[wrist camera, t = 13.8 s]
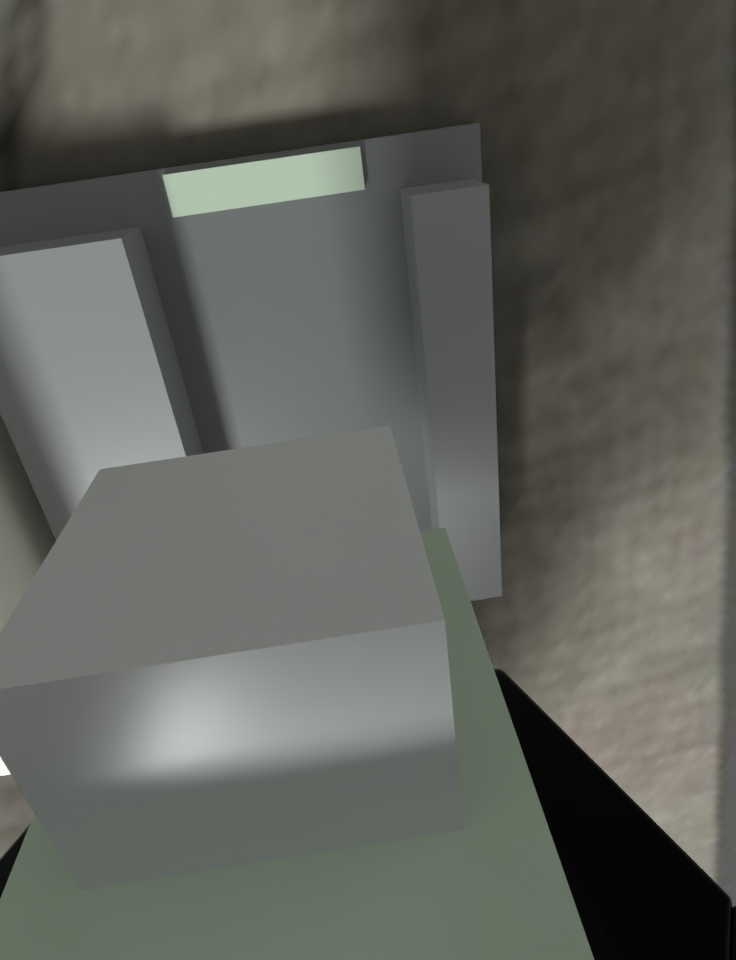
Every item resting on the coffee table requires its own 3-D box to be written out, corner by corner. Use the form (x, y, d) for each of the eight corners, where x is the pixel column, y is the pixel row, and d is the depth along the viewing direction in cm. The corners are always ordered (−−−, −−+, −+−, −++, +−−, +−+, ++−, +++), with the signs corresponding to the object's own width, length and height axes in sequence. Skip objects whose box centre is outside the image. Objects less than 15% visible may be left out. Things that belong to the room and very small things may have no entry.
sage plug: (474, 887, 12) (571, 1321, 8) (260, 920, 12) (233, 1378, 8) (433, 377, 7) (630, 767, 3) (73, 431, 7) (-299, 914, 3)
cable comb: (490, 547, 19) (511, 594, 17) (-121, 641, 19) (-170, 700, 17) (473, 123, 14) (500, 122, 12) (-381, 246, 13) (-497, 267, 12)
